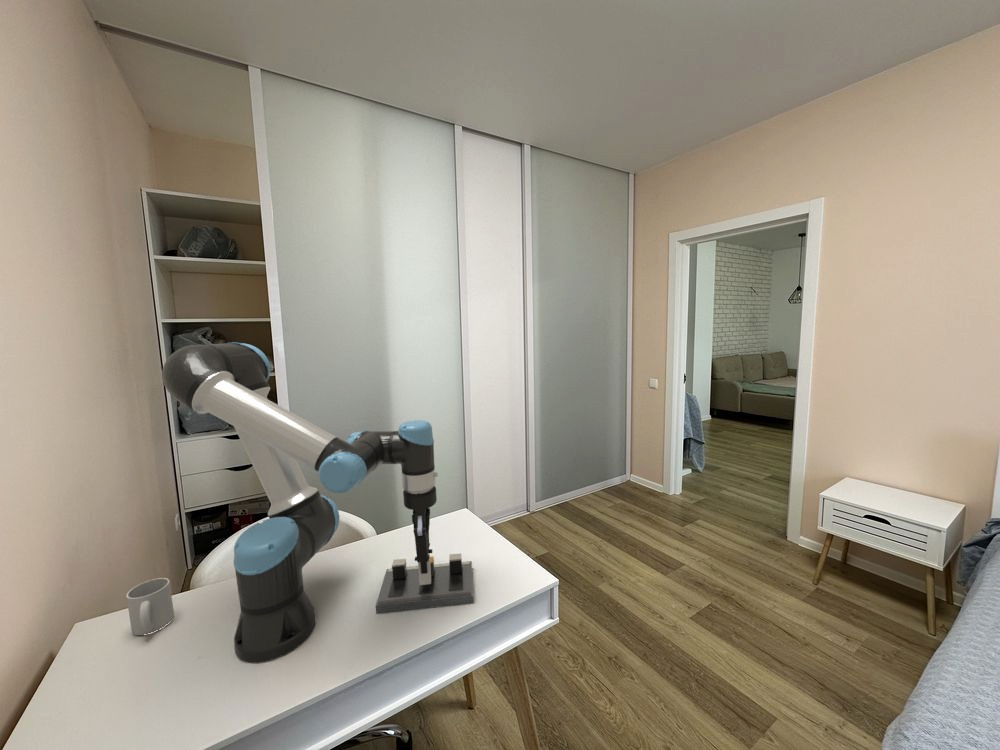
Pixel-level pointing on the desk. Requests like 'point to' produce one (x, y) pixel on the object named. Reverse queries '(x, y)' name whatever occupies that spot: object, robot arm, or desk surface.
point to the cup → (150, 606)
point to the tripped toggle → (432, 565)
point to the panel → (426, 586)
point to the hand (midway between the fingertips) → (425, 582)
